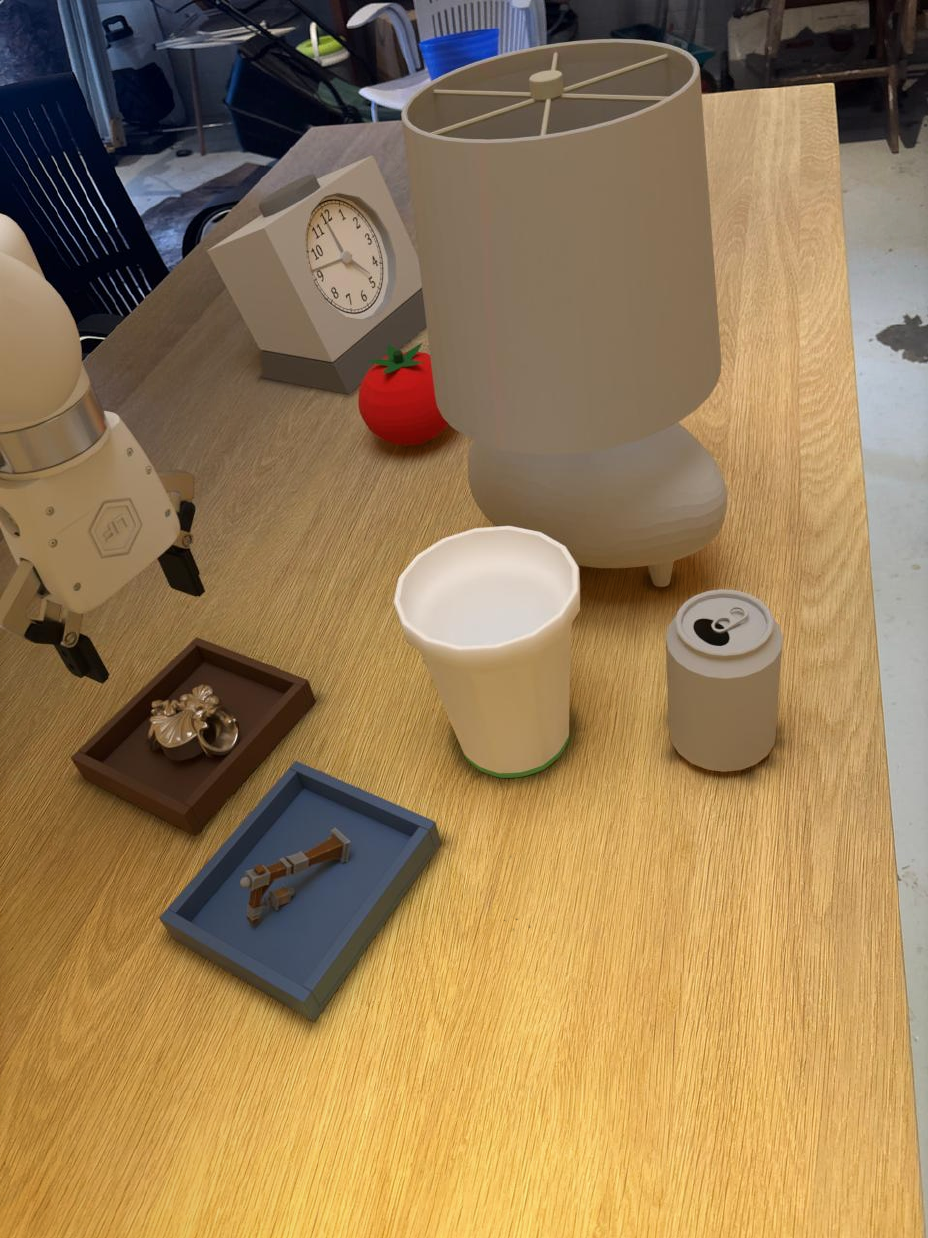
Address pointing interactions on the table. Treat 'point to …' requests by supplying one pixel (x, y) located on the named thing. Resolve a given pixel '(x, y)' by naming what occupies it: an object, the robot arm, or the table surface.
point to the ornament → (192, 725)
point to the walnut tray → (202, 782)
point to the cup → (496, 641)
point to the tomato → (401, 398)
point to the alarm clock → (325, 278)
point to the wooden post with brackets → (294, 864)
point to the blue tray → (304, 888)
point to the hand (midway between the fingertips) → (142, 631)
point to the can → (723, 679)
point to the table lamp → (574, 292)
